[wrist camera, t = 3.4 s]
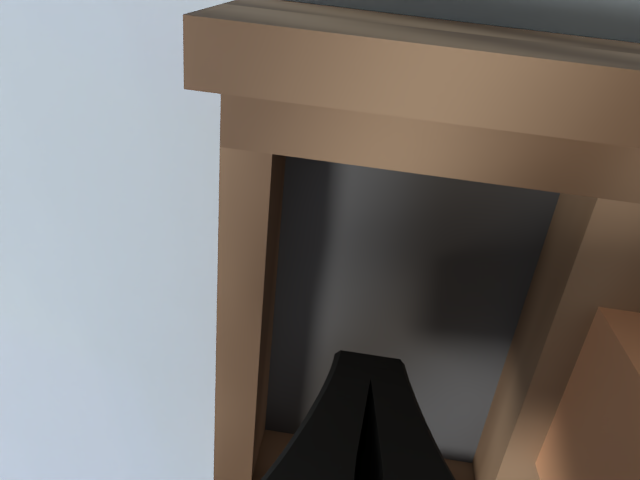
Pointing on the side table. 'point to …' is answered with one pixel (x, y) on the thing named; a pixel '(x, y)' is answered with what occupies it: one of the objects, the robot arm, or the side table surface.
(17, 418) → the side table surface
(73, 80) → the side table surface
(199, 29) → the trap lane
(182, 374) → the side table surface
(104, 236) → the side table surface
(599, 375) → the terracotta block
